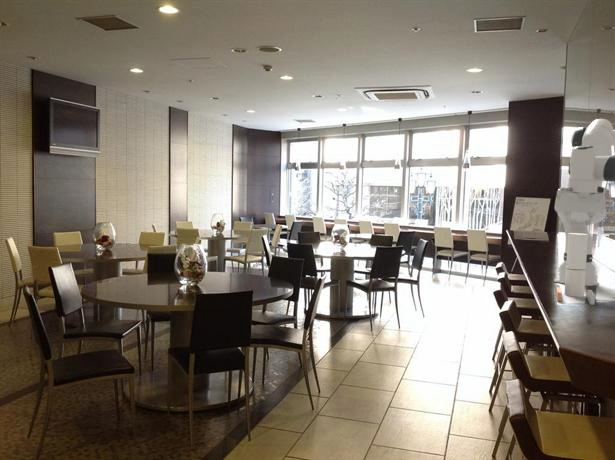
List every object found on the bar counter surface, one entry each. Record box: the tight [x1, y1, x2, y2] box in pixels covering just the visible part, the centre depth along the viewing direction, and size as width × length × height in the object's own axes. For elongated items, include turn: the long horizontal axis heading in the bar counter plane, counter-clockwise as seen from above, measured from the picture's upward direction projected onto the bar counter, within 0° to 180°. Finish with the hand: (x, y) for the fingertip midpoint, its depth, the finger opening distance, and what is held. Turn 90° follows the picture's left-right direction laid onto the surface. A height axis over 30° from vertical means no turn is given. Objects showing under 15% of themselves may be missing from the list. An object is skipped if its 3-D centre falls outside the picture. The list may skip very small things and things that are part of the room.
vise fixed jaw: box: [586, 289, 596, 306], centre depth 204 cm, size 14×1×4 cm, turn 157°
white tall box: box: [564, 233, 588, 298], centre depth 217 cm, size 7×7×25 cm
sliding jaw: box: [554, 284, 563, 302], centre depth 212 cm, size 21×1×3 cm, turn 157°
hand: (578, 224), depth 205 cm, fingers open, 7 cm apart
